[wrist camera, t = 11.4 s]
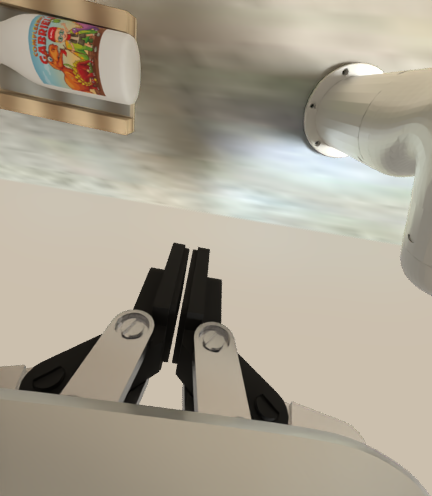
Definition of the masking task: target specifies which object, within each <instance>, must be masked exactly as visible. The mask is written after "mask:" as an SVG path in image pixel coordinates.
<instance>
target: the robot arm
mask: <svg viewBox="0 0 432 496" xmlns="http://www.w3.org/2000/svg"><path fill="white" fill-rule="evenodd" d="M343 70H344V71H345V73H344V74H342V71H343ZM311 104H313V107H312V108H311V107H310V105H311ZM304 131H305V135H306V137H307V140H308V141H309V143H310V145H311V146H312V147H313V148H314V149H315V150H316V151H318V152H319V153H321V154H323V155H325V156H328V157H333V158H342V157H347V156H350V157H352V158H354V159H356V160H358V161H359V162H361V163H363V164H365V165H367V166H369V167H371V168H373V169H375V170H377V171H379V172H381V173H383V174H386V175H390V176H395V177H411V176H415V177H414V182H413V188H412V192H411V202H410V206H409V211H408V216H407V221H406V225H405V230H404V235H403V241H402V246H401V255H400V260H401V266H402V269H403V271H404V273H405V275H406V276H407V278H408V279H409V280H410V281H411V282H412V283H413V284H414V285H415V286H417V287H418V288H419V289H421V290H422V291H424V292H425V293H427V294H429V295H431V296H432V68H425V69H417V70H408V71H399V72H390V73H384V72H383V71H382V70H381V69H379V68H378V67H377V66H374V65H372V64H369V63H361V62H360V63H351V64H347V65H344V66H342V67H339V68H337V69H335V70H334V71H332V72H331V73H329V74H328V75H327V76H326V77H324V78H323V79H322V80H321V81H320V82H319V84H318V85H317V86H316V87H315V89H314V90H313V92H312V94H311V96H310V97H309V100H308V102H307V105H306V108H305V113H304ZM316 141H317V142H318V143H317V144H315V142H316ZM209 253H210V249H205V248H200V247H198V250H193V253H192V258H191V263H190V268H189V273H188V278H187V283H186V289H185V294H184V299H183V304H182V309H181V314H180V320H179V326H178V332H177V337H176V343H175V349H174V355H173V360H172V363H176V364H177V369H176V375H177V376H178V377H179V379H180V380H181V381H182V383H183V387H182V398H183V399H182V400H183V401H182V402H183V403H182V406H183V408H182V410H176V409H167V408H160V407H153V406H145V405H139V403H140V401H141V399H142V396H143V393H144V391H145V389H146V387H147V384H148V381H149V378H150V377H152V376H153V375H154V374H156V373H158V372H159V370H161V366H162V362H168V358H169V354H170V349H171V344H172V339H173V335H174V330H175V325H176V320H177V315H178V311H179V306H180V301H181V296H182V290H183V284H184V278H185V272H186V266H187V260H188V255H189V249H187V248H185V245H183V244H178V243H174V244H173V246H172V249H171V252H170V255H169V258H168V261H167V264H166V267H165V270H162V269H156V268H151V269H150V271H149V273H148V275H147V278H146V280H145V282H144V285H143V287H142V290H141V292H140V294H139V297H138V299H137V302H136V304H135V306H134V309H133V310H127V311H124V312H122V313H120V314H118V315H117V316H116V317H115V318H114V319H113V320H112V321H111V323H110V324H109V326H108V327H107V328H106V330H105V331H104V333H103V334H101V335H99V336H97V337H95V338H92V339H90V340H88V341H86V342H84V343H82V344H79V345H77V346H75V347H73V348H71V349H69V350H67V351H65V352H62V353H60V354H58V355H56V356H54V357H52V358H49V359H47V360H45V361H43V362H41V363H40V364H38V365H36V366H34V367H33V368H26V366H25V365H17V366H3V367H0V496H430V495H429V493H428V492H427V491H426V489H425V488H424V487H423V486H422V485H421V484H420V482H419V481H418V480H417V479H416V478H415V477H414V476H413V475H412V474H411V473H410V472H408V471H407V470H406V469H405V468H403V467H402V466H401V465H400V464H398V463H397V462H395V461H394V460H392V459H391V458H389V457H387V456H386V455H384V454H382V453H381V452H379V451H377V450H376V449H374V448H372V447H370V446H368V445H366V443H365V441H364V439H363V438H362V436H361V435H360V433H359V432H358V431H357V430H356V429H355V428H354V427H353V426H351V425H349V424H348V423H346V422H344V421H341V420H339V419H336V418H333V417H331V416H328V415H326V414H323V413H320V412H318V411H315V410H313V409H310V408H307V407H305V406H302V405H300V404H297V403H295V402H291V404H289V403H286V402H284V401H283V400H282V398H281V397H280V396H279V394H278V393H277V392H276V391H275V390H274V389H273V388H272V387H271V386H270V385H269V384H268V383H267V382H266V381H265V380H264V379H263V378H262V377H261V376H260V375H259V374H258V373H257V372H256V371H255V370H254V369H253V368H252V367H251V366H250V365H249V364H248V363H247V362H246V361H245V360H244V359H243V358H242V357H241V356H240V355H239V354H238V353H237V349H236V345H235V340H234V337H233V334H232V332H231V331H230V330H229V329H228V328H227V327H226V326H224V325H223V324H221V298H222V295H221V293H222V281H221V280H220V279H215V278H209V277H207V274H208V263H209Z"/></svg>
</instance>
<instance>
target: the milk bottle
mask: <svg viewBox="0 0 432 496" xmlns="http://www.w3.org/2000/svg"><path fill="white" fill-rule="evenodd" d="M0 64H4V65H6V66H8V67H10V68H12V69H13V70H15V71H16V72H18V73H19V74H21V75H22V76H24V77H25V78H27V79H28V80H30V81H32V82H34V83H36V84H38V85H41V86H44V87H47V88H50V89H54V90H58V91H63V92H67V93H72V94H77V95H81V96H86V97H91V98H96V99H101V100H106V101H111V102H116V103H121V104H126V105H131V104H134V103H135V102H136V100H137V97H138V94H139V89H140V82H141V62H140V54H139V49H138V45H137V42H136V40H135V39H134V37H132V36H131V35H130V34H127V33H123V32H119V31H115V30H110V29H106V28H101V27H97V26H92V25H88V24H83V23H78V22H74V21H69V20H64V19H59V18H55V17H49V16H43V15H38V14H21V15H17V16H14V17H11V18H9V19H7V20H4V21H1V22H0Z"/></svg>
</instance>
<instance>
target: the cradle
mask: <svg viewBox="0 0 432 496" xmlns="http://www.w3.org/2000/svg"><path fill="white" fill-rule="evenodd" d="M21 14H38V15H43V16H49V17H55V18H59V19H64V20H69V21H74V22H78V23H83V24H88V25H92V26H97V27H101V28H106V29H110V30H115V31H119V32H123V33H127V34H130V35H131V36H132V37H134V39H135V40H136V33H137V19H136V18H135V17H134V16H132V15H131V14H130V13H129V12H127V11H125V10H121V9H117V8H113V7H109V6H105V5H101V4H97V3H93V2H89V1H85V0H0V22H1V21H4V20H7V19H9V18H11V17H14V16H17V15H21ZM0 109H5V110H10V111H15V112H19V113H24V114H29V115H33V116H38V117H43V118H47V119H52V120H57V121H61V122H66V123H71V124H76V125H80V126H85V127H90V128H94V129H99V130H104V131H108V132H113V133H118V134H123V135H127V134H130V133H132V132H134V120H135V103H134V104H131V105H126V104H121V103H116V102H111V101H106V100H101V99H96V98H91V97H86V96H81V95H77V94H72V93H67V92H63V91H58V90H54V89H50V88H47V87H44V86H41V85H38V84H36V83H34V82H32V81H30V80H28V79H27V78H25V77H24V76H22V75H21V74H19V73H18V72H16V71H15V70H13V69H12V68H10V67H8V66H6V65H4V64H0Z"/></svg>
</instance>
